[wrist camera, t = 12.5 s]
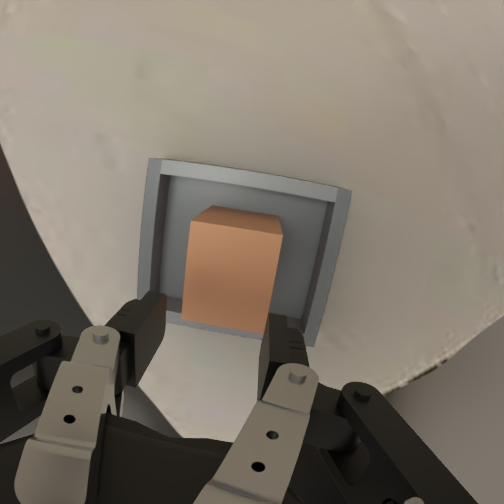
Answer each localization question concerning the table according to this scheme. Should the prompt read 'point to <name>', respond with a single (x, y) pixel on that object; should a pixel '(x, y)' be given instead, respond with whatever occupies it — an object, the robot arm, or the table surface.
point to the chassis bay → (250, 199)
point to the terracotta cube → (231, 268)
